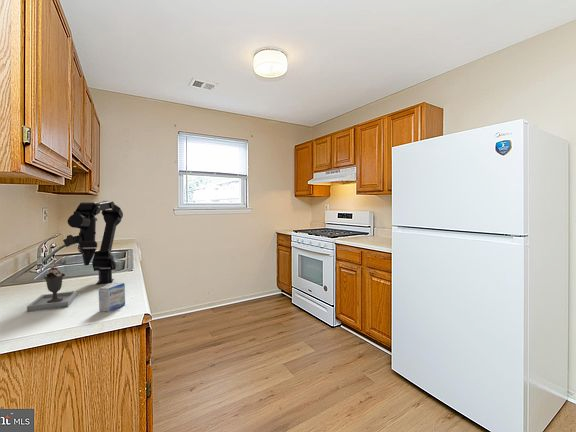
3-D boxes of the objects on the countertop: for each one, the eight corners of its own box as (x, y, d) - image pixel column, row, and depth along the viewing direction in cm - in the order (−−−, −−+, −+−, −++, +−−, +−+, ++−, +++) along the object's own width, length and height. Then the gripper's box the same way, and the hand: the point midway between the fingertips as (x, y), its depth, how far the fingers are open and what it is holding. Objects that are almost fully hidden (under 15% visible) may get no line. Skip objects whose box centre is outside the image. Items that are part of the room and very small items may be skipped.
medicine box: (109, 312, 103) (108, 288, 102) (98, 311, 104) (98, 287, 103) (125, 304, 111) (125, 282, 110) (115, 304, 111) (115, 282, 111)
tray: (41, 299, 117) (41, 294, 117) (77, 295, 122) (77, 290, 122) (27, 311, 103) (26, 306, 103) (68, 306, 108) (67, 301, 108)
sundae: (59, 297, 117) (57, 261, 116) (69, 299, 114) (68, 262, 114) (40, 302, 111) (38, 264, 110) (50, 304, 108) (49, 265, 108)
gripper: (64, 231, 129) (63, 266, 127) (64, 227, 115) (62, 266, 113) (94, 232, 136) (93, 265, 134) (97, 227, 122) (96, 264, 119)
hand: (86, 265), depth 125 cm, fingers open, 9 cm apart
